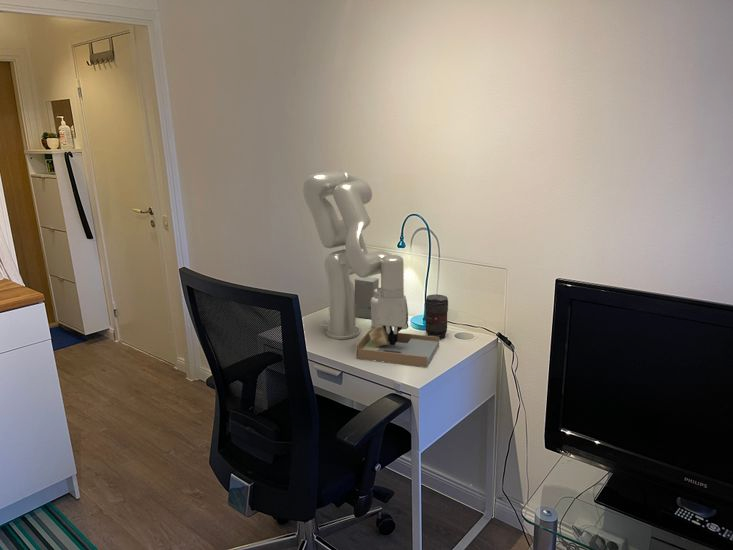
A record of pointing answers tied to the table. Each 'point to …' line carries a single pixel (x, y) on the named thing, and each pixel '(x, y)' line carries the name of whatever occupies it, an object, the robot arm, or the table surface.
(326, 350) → the table surface
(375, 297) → the pill bottle
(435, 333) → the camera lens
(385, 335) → the block
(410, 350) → the box
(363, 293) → the skincare box
